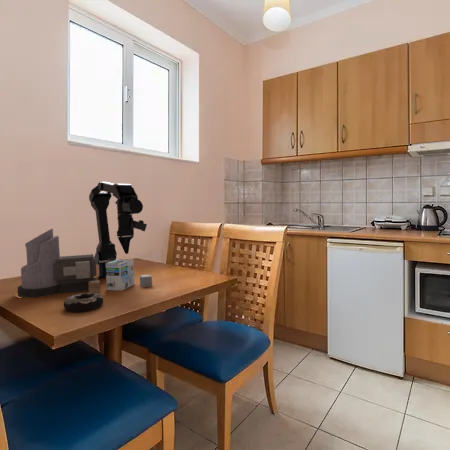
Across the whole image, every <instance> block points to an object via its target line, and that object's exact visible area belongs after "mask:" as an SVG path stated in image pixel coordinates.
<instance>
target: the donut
mask: <svg viewBox="0 0 450 450" xmlns="http://www.w3.org/2000/svg"><path fill="white" fill-rule="evenodd" d="M103 303H104V298H103V295H102V294H100V293H92V292H89V291H87V292H82V293H81V292H79V293H76V294H72V295H70V296H67V298H66V299H64V301H63V307H64V309H65V310H66V311H67V312H70V313H85V312H91V311H95V310H96V309H99V307H102V304H103Z"/></svg>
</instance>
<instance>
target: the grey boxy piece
mask: <svg viewBox="0 0 450 450" xmlns="http://www.w3.org/2000/svg"><path fill="white" fill-rule="evenodd" d="M24 245H25V246H24V247H25V250H26V264H25V265H22V267H21V268H20V279H21V285H18V286H17V293H18V296H19V297H35V298H40V297H39V296H44V297H49V296H48V295H50V296H53V294H54V295H58V294H57V293H60V294H67V293H68V292H69V293H76V292H77V293H78V291H79V292H86V291H87V292H89V288H88V281H95V280H97V278H95V277H96V276H97V275H98V274H97V271H98V269H97V264H96V257H94V254H92V253H91V254H80V255H79V254H78V255H65V256H60V253H61V252H60V251H61V250H60V236H59V235H54V229H53V228H51V229H48V230H46V231H45V232H43V233H41V234H39V235H38V236H36V237H33V239H31V240H29V241H28V242H26V243H25V244H24Z"/></svg>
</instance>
